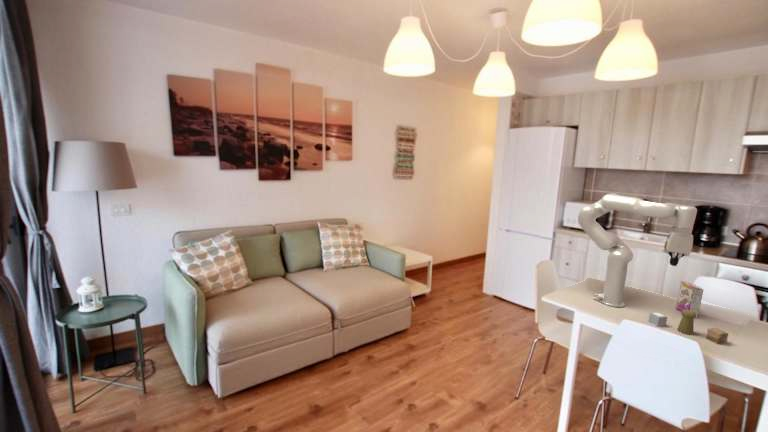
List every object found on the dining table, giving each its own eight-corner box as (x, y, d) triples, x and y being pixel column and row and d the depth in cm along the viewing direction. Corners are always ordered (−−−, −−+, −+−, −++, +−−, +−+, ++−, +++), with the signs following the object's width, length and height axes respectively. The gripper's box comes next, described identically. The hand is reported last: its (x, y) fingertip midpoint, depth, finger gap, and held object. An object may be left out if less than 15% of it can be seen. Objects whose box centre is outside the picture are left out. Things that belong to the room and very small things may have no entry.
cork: (673, 328, 175) (678, 307, 173) (685, 328, 175) (689, 308, 173) (685, 335, 169) (689, 313, 167) (696, 335, 169) (701, 313, 167)
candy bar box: (674, 308, 199) (680, 280, 196) (685, 309, 199) (690, 281, 196) (687, 317, 189) (693, 288, 186) (698, 318, 188) (704, 289, 185)
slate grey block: (657, 326, 177) (659, 316, 176) (648, 321, 181) (650, 312, 180) (665, 326, 178) (667, 316, 177) (656, 321, 182) (658, 311, 181)
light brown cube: (717, 344, 162) (719, 333, 161) (705, 338, 167) (707, 328, 166) (726, 343, 163) (728, 333, 162) (714, 337, 168) (716, 327, 167)
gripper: (667, 229, 176) (658, 264, 180) (703, 234, 172) (694, 270, 176) (661, 226, 183) (653, 260, 187) (696, 230, 179) (687, 265, 183)
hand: (673, 265), depth 181 cm, fingers closed
